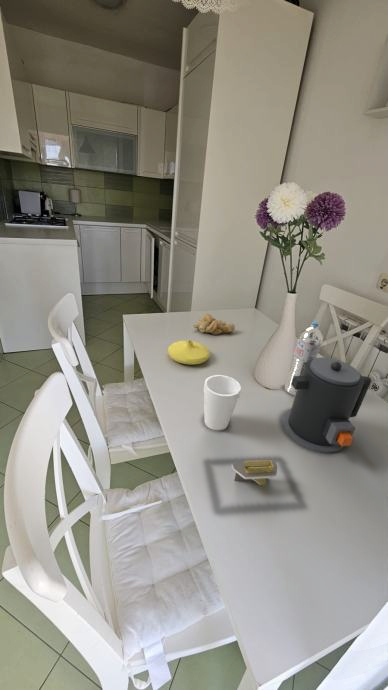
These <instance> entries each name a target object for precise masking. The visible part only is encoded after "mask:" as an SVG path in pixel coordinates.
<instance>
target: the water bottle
mask: <svg viewBox="0 0 388 690" xmlns="http://www.w3.org/2000/svg"><path fill="white" fill-rule="evenodd" d="M319 325H320V324H319V322H317V321H311V326H308V327H306V328H304V329H302V330H301V331H300V333H299V334H298V340H297V344H296V347H295V350H294V353H293V356H292V359H291V363H290V366H289V370H288V374H287V376H286V380H285V383H286V384H285V383H284V390H285V392H287V393H288V394H289V395H292V396H294V397H295V396H296V392H297V389H295V388H294V387H293V386H292V384H291V382H292V379H293V376H302V373H303V370H304V367H305V364H306V362H307V361H309V360H311V359H315V358H318V355H319V351H320V348H321V346H322V344H323V341H324V336H323V334H322V332H321V330H320V328H318V327H319Z"/></svg>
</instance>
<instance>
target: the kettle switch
mask: <svg viewBox="0 0 388 690" xmlns="http://www.w3.org/2000/svg"><path fill="white" fill-rule="evenodd" d="M336 440H337V441H338V442H339V444H340V445H341V446H344V447H350V446H352V443H353V440H354V437H353V435H352V436H351V434H350V433H349V432H348V431H343V432H339V433H338V435H337V438H336Z"/></svg>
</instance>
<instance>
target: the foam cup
mask: <svg viewBox="0 0 388 690" xmlns="http://www.w3.org/2000/svg"><path fill="white" fill-rule="evenodd" d="M241 391H242V387H241V384H240V383H239V382H238V380H237V379H235V378H233V377H231V376H228V375H224V374H213V375H210V376H208V377H207V378H205V380H204V384H203V392H202V393H203V415H204V416H203V417H204V420H203V421H204V424H205V426H206V427H208V428H209V429H211V430H213V431H223V430H226V428H227V427H229V425H230V424H229V423H230V422H231V421H230V420H231V419H232V416H233V413H234V411H235V408H236V405H237V402H238V400H239V398H240V395H241Z"/></svg>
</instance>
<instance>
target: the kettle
mask: <svg viewBox="0 0 388 690" xmlns="http://www.w3.org/2000/svg"><path fill="white" fill-rule="evenodd" d="M291 384H292V386H293V387H294V388H295V389H297V392H296V396H295V395H294V398H293V402H292V404H291V405H292V406H291V408H289V409H288V410H286V411H285V413H284V414H283V415H282V419H281V424H282V427H283V430H284V432H285V434H287V436H288V437H289V438H290V439H291V440H292V441H294V442H295V443H296V444H298V445H299V446H301V447H303V448H305V449H308V450H310V451H314V452H317V453H323V454H332V453H333V454H334V453H337V452H339V451H341V450H342V449H343V448H344V447H345V446H341V445H340V444H339V442H338V441H337V440H336V438H337V435H338V433H339V432H343V431H348V432H349V433H350V434H351V436H352V437H353V435H354V432H355V431H356V426H354V425H353V423H352V422H351V421H350V418H355V417H356V416H357V415H358V413H359V411H360V408H361V406H362V405H363V402H364V400H365V397H366V395H367V392H368V390H369V388H370V386H371V384H372V378H371V377H370V376H366V375H362V374H361V373H360V372H359V371H358V370H357V368H355V367H354V366H352V365H350V364H349V363H347V362H345V361H342V360H339V359H335V358H332V357H326V356H325V357H323V356H322V357H317V358H315V359H311V360H309V361H307V362H306V364H305V367H304V370H303V373H302V376H293V379H292V382H291Z"/></svg>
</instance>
